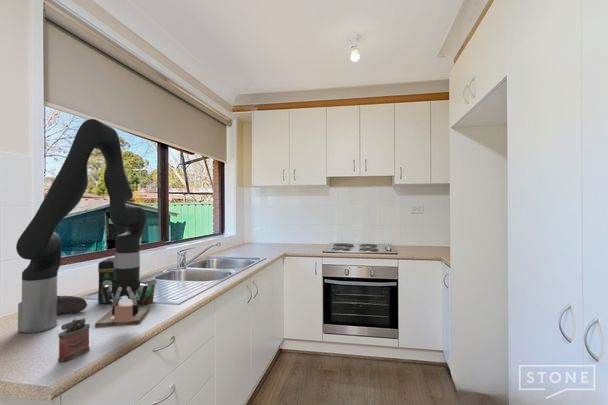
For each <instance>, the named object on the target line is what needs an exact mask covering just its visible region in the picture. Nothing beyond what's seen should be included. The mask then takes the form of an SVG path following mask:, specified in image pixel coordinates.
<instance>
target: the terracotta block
mask: <svg viewBox="0 0 608 405" xmlns="http://www.w3.org/2000/svg"><path fill="white" fill-rule="evenodd" d="M134 318H135V316H133V302H120V303H119V304H117V305H116V306H115V313H114V322H129V321H132V320H133V319H134Z"/></svg>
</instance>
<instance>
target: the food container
mask: <svg viewBox="0 0 608 405" xmlns="http://www.w3.org/2000/svg"><path fill="white" fill-rule="evenodd" d="M139 281H140V283H141V284H145V285H146V284H149V289H148V292H147V295H146V299H145V301H144V302H143V303H140V304H139V307H143V306H147V305H150V304H152V303H153V302H154V296H155V289H156V287H155V286H156V285H157V283H158V282H157V280H156V278H154V279H151V280H139ZM137 294H138V298H139V299H140V297H141V294H142V291H141V288H140V287H139V288H138V289H137ZM127 299H131V298H130V296H127Z"/></svg>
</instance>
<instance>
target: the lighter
mask: <svg viewBox="0 0 608 405" xmlns="http://www.w3.org/2000/svg"><path fill="white" fill-rule="evenodd" d="M90 327H91V324H90V323H86V317H82V318H80V319H78V318H77V319H75V318H74V319H72V320H71V321H69V322H66V323H63V324H62V325H61V330H62V332H59V333H58V358H57V363H58V364H63V363H68V362H70V361H72V360H75V359H77V358H79V357H81V356H83V355H85V354H86V353H88V352H89V351H90V349H91V348H90Z"/></svg>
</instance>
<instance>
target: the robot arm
mask: <svg viewBox="0 0 608 405" xmlns="http://www.w3.org/2000/svg"><path fill="white" fill-rule="evenodd" d="M94 149H96V150H99V151H100V152H101V154H102V157H103V158H104V161H105V170H104V172H103V182H104V186H105V188H106V192H107V195H108V197H109V219H110V221H111V222H112V224H113V225H114V226H116V227H118V228H126V231H125V232H124V233H121V234H119V235H117V236H116V238H115V253H114V257H113V258H114V282H113V284H112V285H106V286H105V287H103V288H102V290H103V294H104V298H105V302H106V304H105V305H107V306H108V305H110V306H111V307H112V308H111V310H112V315H113V316H114V313H115V306H116V305H117V304H118V302H119V300H120V299H121V298H122V297H128V296H130V298H131V300H132V302H133V316H136V315H137V314H138V312H139V308H140V306H139V304H140V303H143V302H144V301H145V299H146V295H147V292H148V289H149V284H146V285H145V284H141V283H140V281H141V280H140V274H141V273H140V272H141V271H140V267H141V253H140V249H141V248H140V246H141V237H142V235H143V231H144V228H145V226H146V222H147V213H146V211H145V208H143V207H142V206H139V205H126V203H127V202H129V201H131V200H132V199H133V197H134V194H133V193H134V192H133V190H132V187H131V185H130V181H129V179H128V176H127V173H126V170H125V165H124V160H123V154H122V148H121V142H120V137H119V133H118V132H117V131H116V129H114V128H113V127H111V126H110V125H107V124H105V123H103V122H102V121H99V120H98V119H96V118H89V119H86V120H85V121H83V122H82V123H81V125H80V126H79V127H78V130H77V132H76V134H75V136H74V138H73V141H72V144H71V145H70V149H69V152H68V153H67V156H66V158H65V160H64V161H63V163H62V166H61V167H60V170H59V171H58V173H57V175H56V176H55V178H54V180H53V182H52V184H51V185H50V187H49V189H48V191H47V193H46V195H45V196H44V199H43V201H42V202H41V203H40V206H39V208H38V209H37V212H36V213H35V215H34V217H32V219H31V221H30V222H29V224H28V225H27V226H26V228H25V229H24V231H23V232H22V233H21V235H20V236H19V237H18V240H17V242H16V245H15V249H16V253H17V255H18V256H19V257H20V258H21V259H24V260H26V261H27V260H28V261H29V260H30V261H29V263H28V266H27V267H25V269H23V271H22V272H21V301H20V302H19V303H18V304H17V333H24V334H33V333H39V332H44V331H47V330H50V329H53V328H54V327H56V326H57V325H58V314H57V296H58V271H59V269H60V266H61V262H62V261H61V260H62V240H61V237H60V235H59V234H58V233H57V232H55V230H56V229H57V227H58V226H59V224H60V223H61V222H62V221H63V220H64V219H65V218H66V216H68V215H69V214H70V213H71V212H72V211H74V209H75V208H76V206H78V205H79V203H80V202H81V200H82V199H83V197H84V194H85V192H86V190H87V189H88V186H89V172H88V171H89V170H88V164H89V160H90V157H91V155H92V153H93V151H95V150H94ZM139 287H140V288H141V291H142V294H141V297H140V299H139V298H138V294H137V289H138V288H139ZM112 288H113V289H114V291H115V292H116V295H115V297H114V300H113V299H112V295H111V291H112Z"/></svg>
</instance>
